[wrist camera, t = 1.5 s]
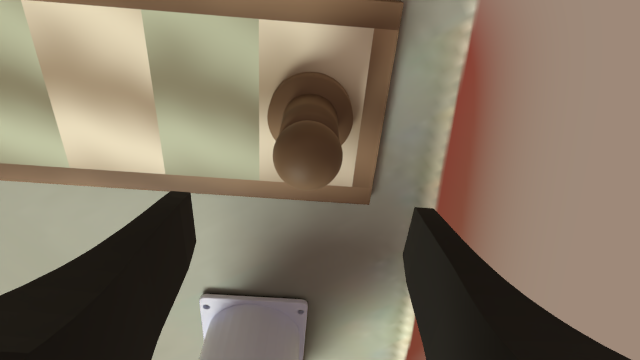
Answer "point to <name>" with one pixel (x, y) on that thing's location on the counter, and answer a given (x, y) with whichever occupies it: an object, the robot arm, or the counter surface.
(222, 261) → the counter surface
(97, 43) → the game board
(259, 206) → the counter surface
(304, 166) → the pawn
